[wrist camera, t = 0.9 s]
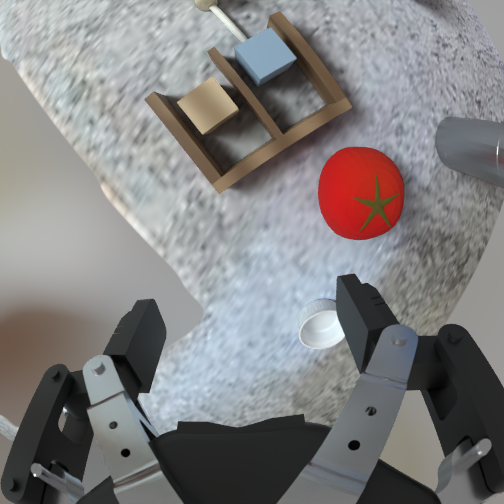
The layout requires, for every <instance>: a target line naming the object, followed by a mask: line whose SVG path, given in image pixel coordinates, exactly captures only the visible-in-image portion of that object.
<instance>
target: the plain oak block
mask: <svg viewBox="0 0 504 504" xmlns="http://www.w3.org/2000/svg"><path fill="white" fill-rule="evenodd" d="M177 103H178V104H179V106H180V107H181V108H182V109H183V111H184V112H185V113H186V114H187V116H188V117H189V118H190V120H191V121H192V122H193V123H194V125H195V126H196V127H197V128H198V130H199V131H200V132H201V133H202V135H203V134H209V133H211V132H212V131H213V130H215V129H216V128H217V127H219V126H220V125H222V124H223V123H224V122H226V121H227V120H229V119H230V118H232V117H233V116H235V115H236V114H237V113H239V109H238V107H237V106H236V105H235V104H234V102H233V101H232V100H231V98H230V97H229V96H228V95H227V93H226V92H225V91H224V90H223V88H222V87H221V86H220V85H219V83H218V82H217V81H216V80H215V79H214V77H213V76H212V77H211V78H209V79H208V80H206V81H205V82H204V83H202V84H201V85H199V86H198V87H197V88H195V89H194V90H193V91H191V92H190V93H189V94H187V95H186V96H185V97H183V98H182V99H181V100H179V101H178V102H177Z"/></svg>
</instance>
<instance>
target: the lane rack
mask: <svg viewBox="0 0 504 504" xmlns="http://www.w3.org/2000/svg"><path fill="white" fill-rule="evenodd" d="M270 27H271V28H272V29H273V30H274V31H275V33H276V34H277V35H278V36H279V37H280V38H281V40H282V41H283V42H284V43H285V44H286V46H287V47H288V48H289V49H290V51H291V52H292V53H293V54H294V56H295V57H296V58H297V59H296V60H295V62H296V63H297V65H298V66H299V67H300V69H301V70H302V71H303V73H304V74H305V75H306V77H307V78H308V79H309V81H310V82H311V84H312V85H313V86H314V88H315V89H316V91H317V92H318V94H319V95H320V97H321V98H322V99H323V101H324V102H325V104H326V106H324V107H322V108H320V109H319V110H317V111H315V112H314V113H312V114H310V115H309V116H307V117H305V118H304V119H302V120H301V121H299V122H297V123H296V124H294V125H292V126H291V127H289V128H288V129H286V130H285V131H283V132H281V131H280V129H279V128H278V127H277V125H276V124H275V122H274V121H273V120H272V118H271V117H270V116H269V114H268V113H267V111H266V110H265V109H264V107H263V106H262V105H261V103H260V102H259V101H258V100H257V98H256V97H255V96H254V94H253V93H252V92H251V90H250V89H249V88H248V87H247V85H246V84H245V83H244V82H243V80H242V79H241V78H240V77H239V75H238V74H237V73H236V72H235V70H234V69H233V68H232V67H231V66H230V64H229V63H228V62H227V61H226V60H225V59H224V57H223V56H222V55H221V54H220V53H219V52H218V50H217V49H216V48H215V47H213V48H212V49H210V50H209V51H207V52H208V54H209V56H210V58H211V60H212V61H213V62H214V64H215V65H216V66H217V67H218V68H219V70H220V71H221V72H222V73H223V74H224V76H225V77H226V78H227V79H228V80H229V82H230V83H231V84H232V85H233V87H234V88H235V89H236V90H237V92H238V93H239V94H240V96H241V97H242V98H243V99H244V101H245V102H246V103H247V105H248V106H249V107H250V108H251V110H252V111H253V112H254V114H255V115H256V116H257V118H258V119H259V120H260V122H261V123H262V125H263V126H264V127H265V129H266V130H267V131H268V133H269V134H270V136H271V137H272V139H271V140H269V141H268V142H266V143H265V144H263V145H262V146H260V147H259V148H257V149H256V150H254V151H253V152H251V153H250V154H249V155H247V156H246V157H244V158H243V159H241V160H240V161H238V162H237V163H236V164H234V165H233V166H231V167H230V168H229V169H227V170H226V171H223V170H222V169H221V167H220V166H219V165H218V163H217V162H216V161H215V159H214V158H213V157H212V156H211V154H210V153H209V152H208V150H207V149H206V148H205V147H204V145H203V144H202V143H201V141H200V140H199V139H198V138H197V136H196V135H195V134H194V133H193V131H192V130H191V129H190V127H189V126H188V125H187V124H186V122H185V121H184V120H183V119H182V117H181V116H180V115H179V114H178V112H177V111H176V110H175V109H174V107H173V106H172V105H171V104H170V102H169V101H168V100H167V99H166V97H165V96H164V95H162V94H159V93H156V92H152V93H151V94H150V95H149V96H148V97H147V98H145V99H144V100H145V101H146V102H147V103H148V105H149V106H150V107H151V108H152V110H153V111H154V112H155V113H156V115H157V116H158V117H159V118H160V120H161V121H162V122H163V123H164V125H165V126H166V127H167V128H168V130H169V131H170V132H171V134H172V135H173V136H174V137H175V139H176V140H177V141H178V142H179V144H180V145H181V146H182V147H183V149H184V150H185V151H186V153H187V154H188V155H189V156H190V158H191V159H192V160H193V161H194V163H195V164H196V165H197V167H198V168H199V169H200V170H201V172H202V173H203V174H204V175H205V177H206V178H207V179H208V181H209V182H210V183H211V184H212V186H213V187H214V188H215V190H216V191H217V192H218V193H219V194H220V193H221V192H223V191H224V190H226V189H227V188H228V187H230V186H231V185H232V184H234V183H235V182H237V181H238V180H240V179H241V178H242V177H244V176H245V175H247V174H248V173H250V172H251V171H252V170H254V169H255V168H257V167H258V166H260V165H261V164H263V163H264V162H266V161H267V160H269V159H270V158H272V157H273V156H275V155H276V154H278V153H279V152H281V151H282V150H284V149H285V148H287V147H288V146H290V145H291V144H293V143H295V142H296V141H298V140H299V139H301V138H302V137H304V136H306V135H307V134H309V133H310V132H312V131H314V130H315V129H317V128H318V127H320V126H322V125H323V124H325V123H327V122H328V121H330V120H332V119H333V118H335V117H337V116H338V115H340V114H342V113H344V112H345V111H347V110H349V109H350V108H352V106H351V104H350V103H349V101H348V100H347V98H346V96H345V95H344V93H343V92H342V90H341V89H340V87H339V86H338V84H337V83H336V81H335V80H334V78H333V77H332V75H331V74H330V73H329V71H328V70H327V68H326V67H325V66H324V64H323V63H322V61H321V60H320V59H319V57H318V56H317V55H316V53H315V52H314V51H313V50H312V48H311V47H310V46H309V44H308V43H307V42H306V41H305V40H304V38H303V37H302V36H301V35H300V33H299V32H298V31H297V30H296V29H295V28H294V26H293V25H292V24H291V23H290V22H289V21H288V20H287V18H286V17H285V16H284V15H283V14H282V13H281V12H280V11H279V12H277V13H275V14H273V15H270V17H269V21H268V25H267V28H270Z"/></svg>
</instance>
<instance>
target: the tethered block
mask: <svg viewBox="0 0 504 504" xmlns="http://www.w3.org/2000/svg"><path fill="white" fill-rule="evenodd" d="M194 1H195V4H196V6H197V8H198V9H199V10H202V11H209V10H211V11H212V12H213V13H214V14H215V15H216V16H217V17H218V18H219V19H220V20H221V21H222V22H223V23H224V24H225V25H226V26H227V27H228V28H229V29H230V30H231V32H232V33H233V34H234V35H235V36H236V37H237V38H238V39H239V40H240V42H241V44H239V45H238V46H236V47H234V50H235V59H236V61H237V62H238V63H239V65H240V66H241V67H242V68H243V69H244V71H245V72H246V73H247V74H248V76H249V77H250V78H251V79H252V81H253V82H254V83H255V84H256V86H257V87H259V86H260V85H262V84H264V83H265V82H267V81H269V80H270V79H272V78H274V77H275V76H277V75H279V74H280V73H282V72H284V71H286V70H287V69H289V68H290V66H291V65H292V64H293V63H294V61H295V60H296V59H297V58H296V57H295V56H294V54H293V53H292V52H291V51H290V49H289V48H288V47H287V46H286V44H285V43H284V42H283V41H282V40H281V38H280V37H279V36H278V35H277V34H276V33H275V31H274V30H273V29H272V28H271V27H270V28H268V29H266V30H264V31H263V32H261V33H259V34H257V35H255V36H253V37H251V38H250V39H248V38H247V37H246V36H245V35H244V34H243V33H242V32H241V31H240V30H239V28H238V27H237V26H236V25H235V24H234V23H233V22H232V21H231V20H230V19H229V18H228V17H227V16H226V15H225V14H224V13H223V12H222V11H221V10H220V9H219V8H218V7H217V4H218V0H194Z"/></svg>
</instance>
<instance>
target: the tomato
mask: <svg viewBox="0 0 504 504" xmlns="http://www.w3.org/2000/svg"><path fill="white" fill-rule="evenodd" d="M318 198H319V205H320V210H321V213H322V215H323V217H324V219H325V221H326V223H327V224H328V226H329V227H330V228H331V229H332V230H333V231H334V232H335V233H336V234H338V235H340V236H342V237H344V238H348V239H353V240H367V239H370V238H374V237H377V236H379V235H382V234H384V233H386V232H388V231H389V230H390V229H391V228H393V227H394V226H395V225H396V223H397V222H398V220H399V218H400V215H401V213H402V208H403V203H404V184H403V179H402V176H401V174H400V172H399V170H398V168H397V166H396V165H395V164H394V162H393V161H392V160H391V159H390V158H388V157H387V156H386V155H385V154H383V153H382V152H380V151H378V150H376V149H372V148H367V147H347V148H344V149H341V150H339V151H338V152H336V153H335V154H334V155H332V156H331V157H330V158H329V160H328V161H327V162H326V164H325V166H324V167H323V169H322V172H321V175H320V180H319V187H318Z"/></svg>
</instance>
